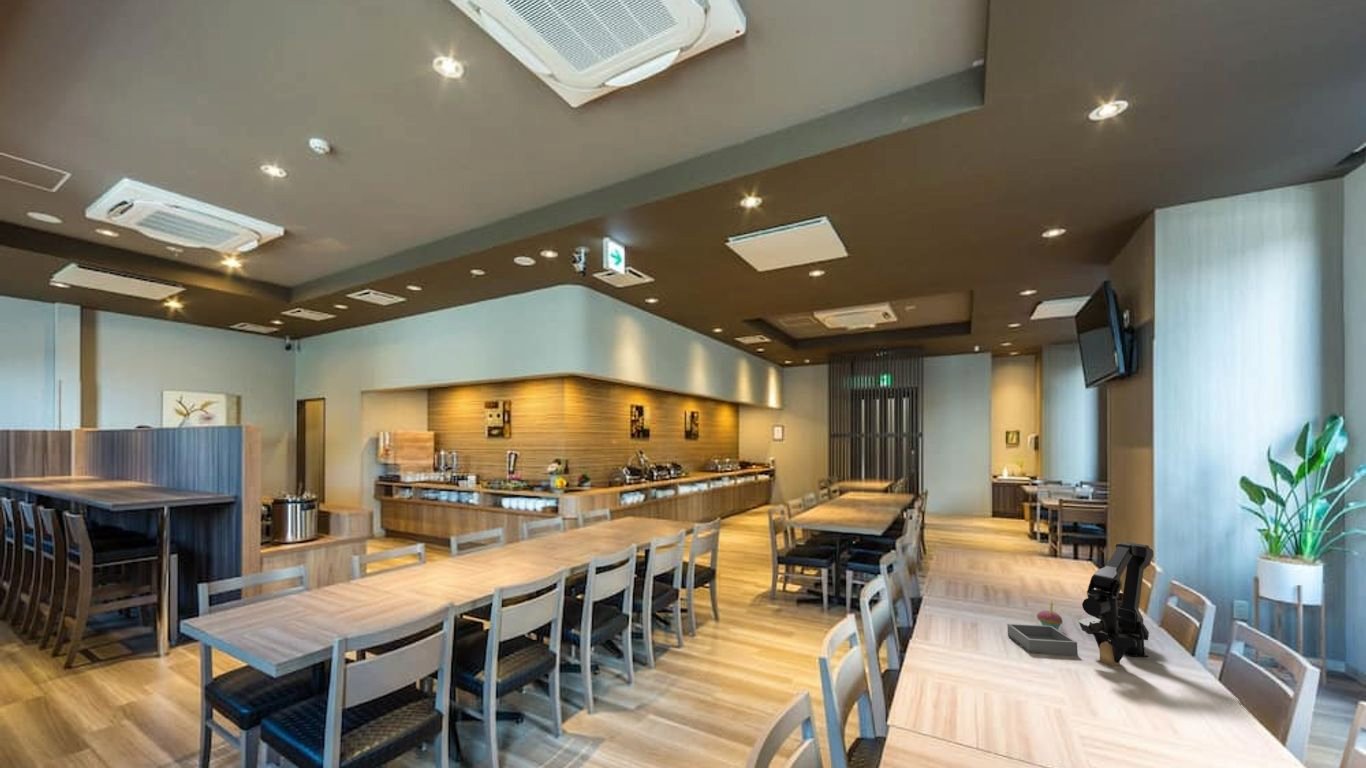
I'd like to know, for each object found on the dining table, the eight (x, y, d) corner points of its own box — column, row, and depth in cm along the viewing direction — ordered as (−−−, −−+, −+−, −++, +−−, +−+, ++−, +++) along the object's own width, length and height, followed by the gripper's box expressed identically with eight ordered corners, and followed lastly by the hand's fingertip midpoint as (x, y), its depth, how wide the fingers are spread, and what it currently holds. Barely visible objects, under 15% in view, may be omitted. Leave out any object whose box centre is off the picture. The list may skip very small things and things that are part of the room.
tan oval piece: (1112, 659, 188) (1112, 639, 188) (1123, 665, 183) (1122, 645, 183) (1096, 658, 189) (1095, 638, 189) (1106, 664, 183) (1105, 644, 184)
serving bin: (1052, 638, 206) (1051, 626, 207) (1077, 655, 190) (1077, 642, 191) (1007, 635, 208) (1007, 623, 208) (1029, 652, 192) (1029, 639, 193)
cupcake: (1068, 634, 210) (1066, 602, 211) (1046, 633, 211) (1044, 602, 211) (1053, 626, 219) (1052, 595, 220) (1032, 625, 219) (1031, 595, 220)
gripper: (1066, 601, 197) (1068, 645, 196) (1099, 619, 179) (1102, 668, 177) (1099, 603, 196) (1101, 647, 195) (1136, 621, 177) (1139, 670, 176)
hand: (1109, 658), depth 186 cm, fingers open, 7 cm apart
